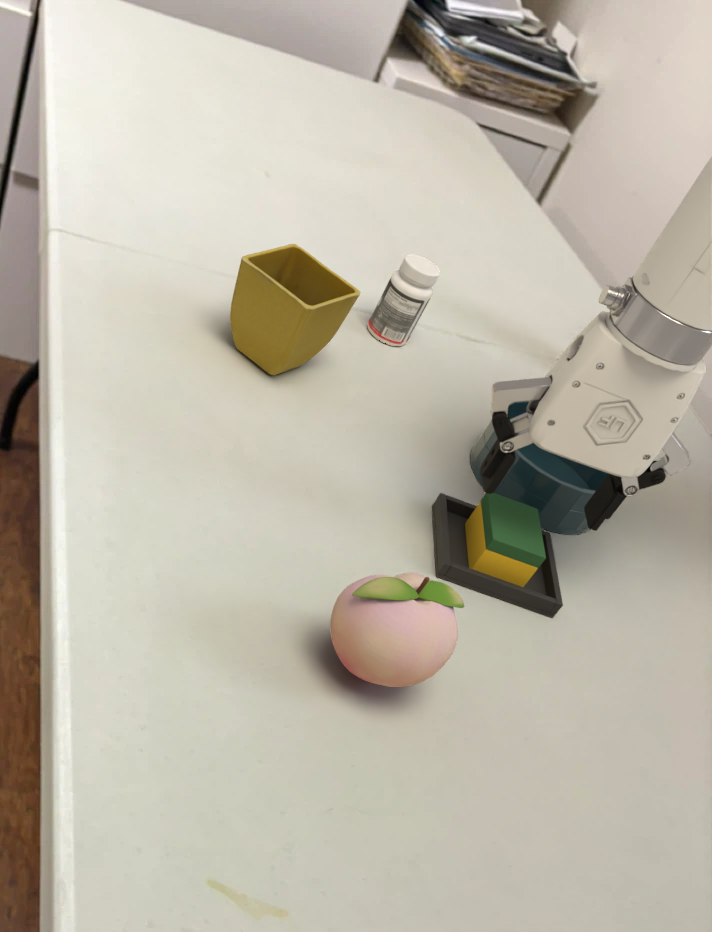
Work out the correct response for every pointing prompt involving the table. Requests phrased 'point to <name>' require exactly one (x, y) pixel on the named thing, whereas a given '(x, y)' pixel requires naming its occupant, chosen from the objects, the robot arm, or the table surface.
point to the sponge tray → (455, 568)
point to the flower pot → (287, 307)
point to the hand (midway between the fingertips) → (538, 502)
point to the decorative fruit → (395, 628)
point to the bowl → (543, 481)
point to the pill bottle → (403, 300)
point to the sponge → (505, 539)
